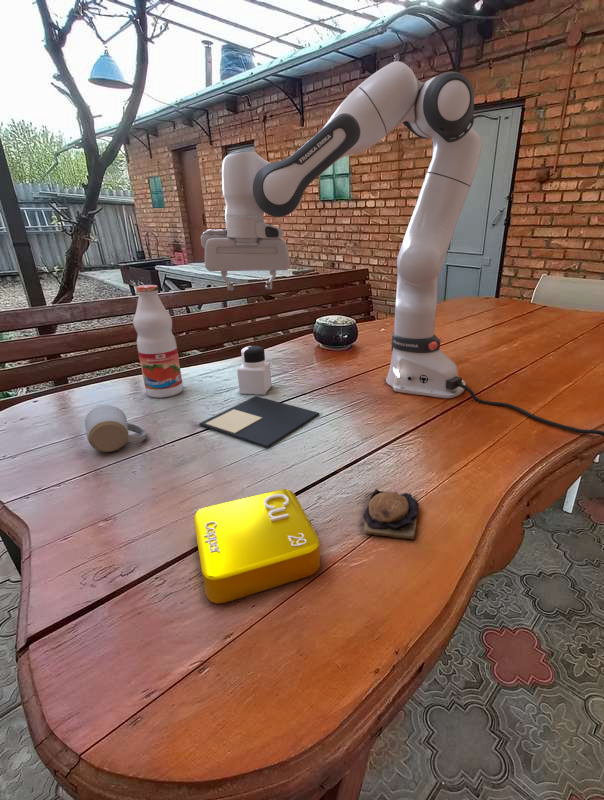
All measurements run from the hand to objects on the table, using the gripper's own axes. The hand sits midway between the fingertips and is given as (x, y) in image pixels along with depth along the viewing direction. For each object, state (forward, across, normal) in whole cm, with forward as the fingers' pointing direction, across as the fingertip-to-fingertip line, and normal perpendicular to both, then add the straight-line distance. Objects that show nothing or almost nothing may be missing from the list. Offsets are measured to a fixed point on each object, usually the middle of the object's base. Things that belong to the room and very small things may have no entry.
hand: (250, 289), depth 106 cm
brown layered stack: (+27, +17, -60) cm, 68 cm away
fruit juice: (+27, -24, +4) cm, 37 cm away
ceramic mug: (+27, -30, -24) cm, 47 cm away
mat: (+27, 0, -20) cm, 33 cm away
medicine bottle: (+27, 0, 0) cm, 27 cm away
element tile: (+27, -4, -63) cm, 69 cm away
